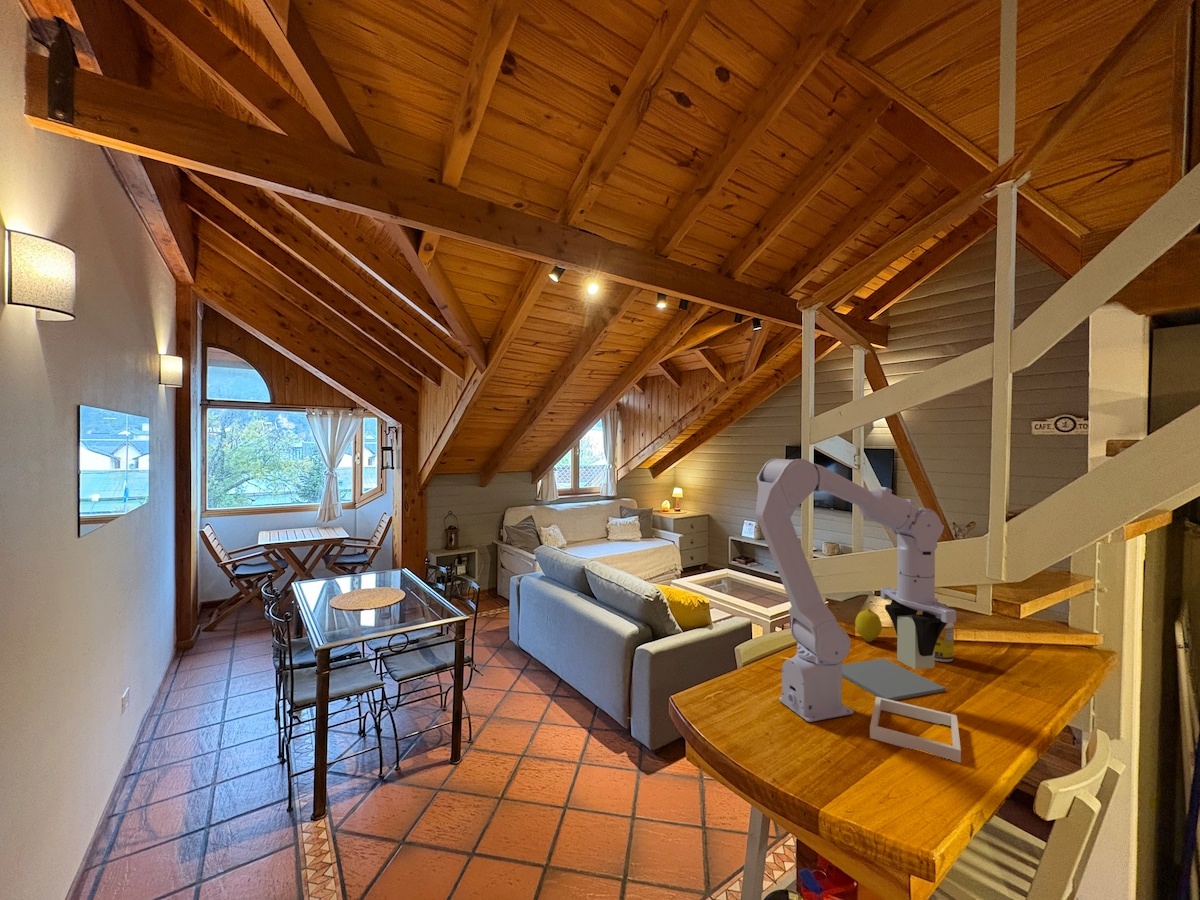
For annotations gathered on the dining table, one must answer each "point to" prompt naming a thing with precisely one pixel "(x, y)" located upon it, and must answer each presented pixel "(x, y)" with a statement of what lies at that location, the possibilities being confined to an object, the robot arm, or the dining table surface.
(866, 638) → the fruit
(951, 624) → the supplement bottle
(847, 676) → the mat
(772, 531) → the robot arm
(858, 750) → the dining table surface
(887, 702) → the rectangular frame
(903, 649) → the block
